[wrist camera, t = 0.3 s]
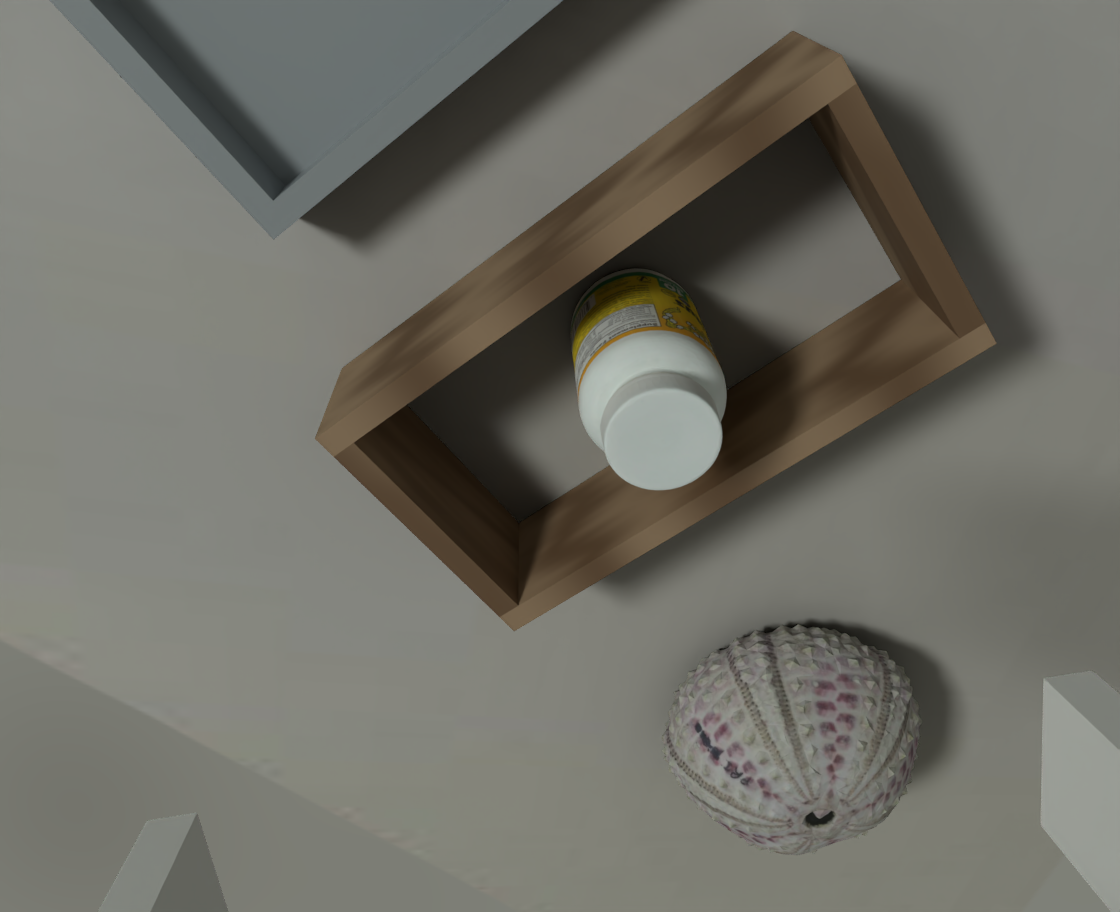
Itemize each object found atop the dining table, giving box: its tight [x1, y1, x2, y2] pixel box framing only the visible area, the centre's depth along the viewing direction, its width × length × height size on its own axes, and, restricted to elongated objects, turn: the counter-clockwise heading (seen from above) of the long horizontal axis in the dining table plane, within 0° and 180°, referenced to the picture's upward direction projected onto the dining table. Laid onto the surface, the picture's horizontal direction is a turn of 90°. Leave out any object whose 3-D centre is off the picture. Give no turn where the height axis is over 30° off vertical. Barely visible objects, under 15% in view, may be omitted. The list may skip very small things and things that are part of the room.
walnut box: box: [315, 31, 997, 631], centre depth 36 cm, size 22×12×6 cm, turn 127°
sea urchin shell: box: [662, 624, 922, 855], centre depth 47 cm, size 13×14×8 cm
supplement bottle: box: [571, 268, 727, 490], centre depth 35 cm, size 5×5×10 cm
